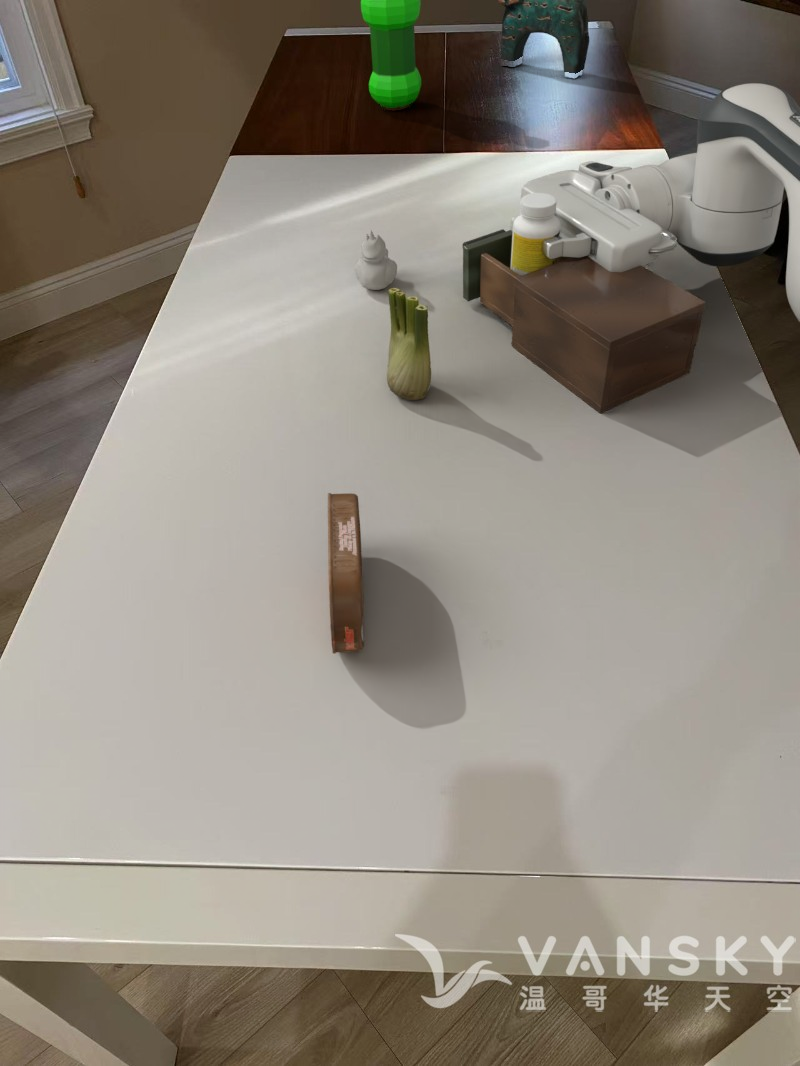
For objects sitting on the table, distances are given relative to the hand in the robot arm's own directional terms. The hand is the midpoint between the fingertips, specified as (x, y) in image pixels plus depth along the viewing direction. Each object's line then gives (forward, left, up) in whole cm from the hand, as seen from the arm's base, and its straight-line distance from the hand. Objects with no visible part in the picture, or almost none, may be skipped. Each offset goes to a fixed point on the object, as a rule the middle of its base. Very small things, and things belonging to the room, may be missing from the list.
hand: (529, 238), depth 95 cm
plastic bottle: (-25, -74, -10) cm, 78 cm away
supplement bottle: (-1, 0, -6) cm, 6 cm away
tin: (+40, +28, -10) cm, 50 cm away
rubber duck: (+11, -18, -10) cm, 23 cm away
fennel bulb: (+20, +5, -10) cm, 23 cm away
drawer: (-1, -1, -9) cm, 9 cm away
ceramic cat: (-58, -73, -10) cm, 94 cm away
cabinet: (-1, +12, -10) cm, 16 cm away
